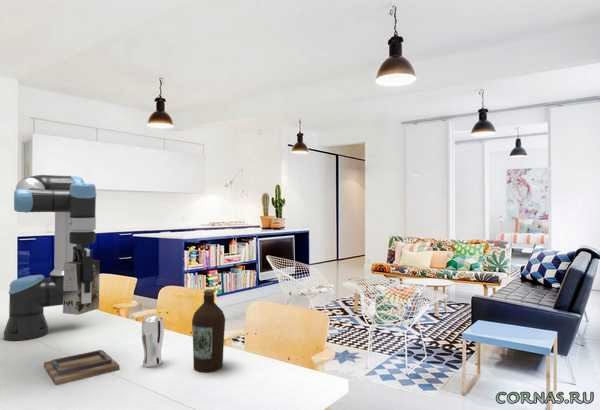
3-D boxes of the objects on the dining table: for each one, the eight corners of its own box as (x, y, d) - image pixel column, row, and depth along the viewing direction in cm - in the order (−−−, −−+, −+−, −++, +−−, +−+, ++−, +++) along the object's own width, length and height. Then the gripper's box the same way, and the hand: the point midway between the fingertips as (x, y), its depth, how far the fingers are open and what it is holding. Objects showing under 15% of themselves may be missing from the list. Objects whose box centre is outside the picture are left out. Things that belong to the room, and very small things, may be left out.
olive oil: (202, 359, 144) (203, 286, 144) (230, 363, 141) (230, 289, 141) (185, 370, 134) (185, 293, 134) (214, 375, 131) (215, 295, 131)
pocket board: (43, 366, 136) (43, 358, 136) (102, 354, 148) (102, 346, 148) (55, 385, 123) (55, 376, 123) (119, 369, 135) (119, 361, 135)
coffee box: (79, 315, 130) (79, 263, 130) (62, 313, 132) (62, 262, 132) (100, 308, 139) (100, 259, 139) (84, 307, 140) (84, 258, 140)
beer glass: (167, 361, 142) (168, 317, 142) (154, 369, 135) (154, 322, 135) (150, 359, 144) (151, 315, 144) (136, 366, 137) (137, 320, 137)
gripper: (61, 229, 141) (61, 295, 141) (78, 233, 124) (78, 308, 125) (85, 228, 146) (85, 292, 146) (105, 232, 129) (104, 304, 129)
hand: (82, 300), depth 135 cm, fingers closed on coffee box, 10 cm apart
